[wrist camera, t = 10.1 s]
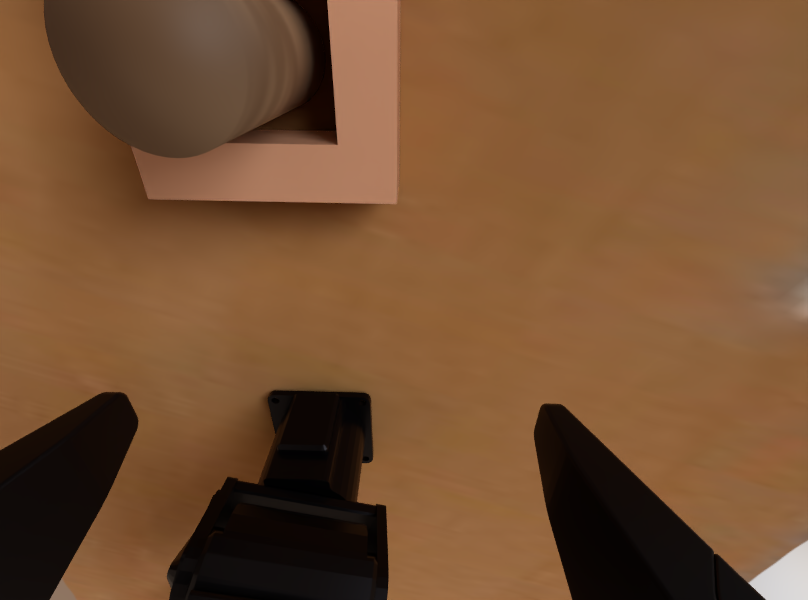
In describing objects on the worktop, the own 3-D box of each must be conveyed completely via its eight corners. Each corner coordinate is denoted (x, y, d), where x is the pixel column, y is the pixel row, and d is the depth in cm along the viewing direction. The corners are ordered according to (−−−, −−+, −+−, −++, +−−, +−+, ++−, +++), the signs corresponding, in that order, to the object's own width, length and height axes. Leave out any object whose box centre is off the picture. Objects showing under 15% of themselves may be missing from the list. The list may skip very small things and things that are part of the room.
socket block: (399, 182, 19) (396, 204, 16) (184, 178, 19) (148, 199, 16) (401, -121, 13) (397, -161, 11) (101, -123, 13) (28, -164, 11)
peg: (329, 110, 17) (262, 159, 9) (235, 109, 17) (92, 157, 9) (319, -9, 15) (222, -70, 7) (212, -10, 15) (3, -71, 7)
